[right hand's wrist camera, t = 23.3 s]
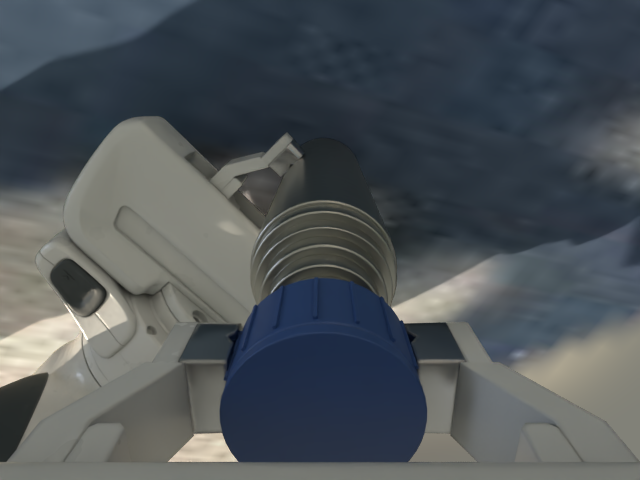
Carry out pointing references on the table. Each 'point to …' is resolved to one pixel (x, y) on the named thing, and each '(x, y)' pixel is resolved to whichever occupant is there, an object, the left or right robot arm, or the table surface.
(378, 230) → the bottle
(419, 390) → the cap
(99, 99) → the table surface
